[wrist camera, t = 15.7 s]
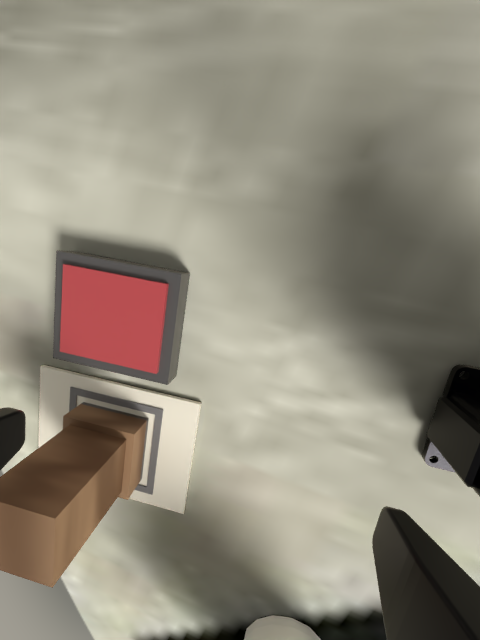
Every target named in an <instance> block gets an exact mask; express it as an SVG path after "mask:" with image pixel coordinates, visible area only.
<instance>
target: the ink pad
mask: <svg viewBox="0 0 480 640" xmlns="http://www.w3.org/2000/svg"><path fill="white" fill-rule="evenodd" d="M189 276H190V273H187V272H181V271H176V270H171V269H165V268H160V267H155V266H149V265H144V264H139V263H133V262H128V261H123V260H117V259H112V258H107V257H101V256H96V255H91V254H85V253H80V252H75V251H57V256H56V286H55V317H54V347H53V358H56V359H60V360H64V361H69V362H73V363H77V364H81V365H86V366H90V367H94V368H98V369H103V370H107V371H111V372H115V373H120V374H124V375H128V376H132V377H137V378H141V379H145V380H149V381H154V382H158V383H162V384H166V385H168V384H169V383H170V382H171V381H172V380H173V379H174V378H175V377H176V374H177V367H178V359H179V352H180V344H181V337H182V329H183V321H184V314H185V306H186V299H187V291H188V284H189Z"/></svg>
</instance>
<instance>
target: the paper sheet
mask: <svg viewBox="0 0 480 640" xmlns="http://www.w3.org/2000/svg"><path fill="white" fill-rule="evenodd" d="M83 402H86V403H90V404H94V405H98V406H102V407H106V408H110V409H114V410H118V411H122V412H126V413H130V414H134V415H138V416H142V417H146V418H149V421H148V430H147V439H146V447H145V456H144V465H143V474H142V479H141V481H140V482H139V484H138V485H137V487H136V488H135V490H134V491H133V493H132V494H131V496H130V497H129V499H132V500H136V501H139V502H143V503H146V504H150V505H153V506H157V507H160V508H164V509H167V510H171V511H174V512H178V513H181V514H183V513H184V511H185V505H186V499H187V492H188V486H189V479H190V473H191V466H192V460H193V454H194V447H195V441H196V434H197V428H198V421H199V415H200V409H201V402H197V401H193V400H189V399H185V398H181V397H176V396H172V395H168V394H164V393H160V392H156V391H151V390H147V389H143V388H139V387H135V386H130V385H126V384H122V383H118V382H114V381H110V380H105V379H101V378H97V377H93V376H89V375H84V374H80V373H76V372H72V371H68V370H64V369H59V368H55V367H51V366H47V365H42V366H40V400H39V444H38V448H39V447H41V446H42V445H43V444H45V443H46V442H47V441H49V440H50V439H51V438H53V437H54V436H55V435H57V434H58V433H59V432H61V431H62V430H63V416H64V415H65V414H67V413H68V412H70V411H71V410H73V409H74V408H76V407H77V406H78V405H80V404H81V403H83Z"/></svg>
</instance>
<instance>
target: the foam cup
mask: <svg viewBox="0 0 480 640" xmlns="http://www.w3.org/2000/svg"><path fill="white" fill-rule="evenodd" d="M244 640H321V639H320V638H319V637H318V636H317V635H316V634H315V633H314V631H313V630H312V629H311V628H310V627H309V626H307V625H305V624H303V623H301V622H299V621H297V620H295V619H293V618H290V617H283V616H275V615H272V616H268V617H264V618H260V619H257V620H256V621H254V622H253V623H252V624H251V625H250V626H249V627H248V628H247V629H246V633H245V638H244Z"/></svg>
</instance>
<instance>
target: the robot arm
mask: <svg viewBox="0 0 480 640" xmlns="http://www.w3.org/2000/svg"><path fill="white" fill-rule="evenodd" d="M463 371H465V375H464V376H462V377H459V375H460V373H461V372H463ZM427 436H428V438H427V441H426V444H425V447H424V450H423V453H422V457H423V459H424V461H425V462H426V464H427V465H429V466H431V467H435V468H439V469H443V470H447V471H452V472H456V473H457V474H458V476H459V477H460V478H461V479H462V481H463V482H464V483H465V484H466V485H467V486H468V487H471V488H473V489H474V490H475V491H476V493H477V494H478V495H479V496H480V368H476V367H471V366H467V365H457V366H455V367H454V368H453V369H452V371H451V373H450V376H449V379H448V382H447V384H446V387H445V390H444V393H443V396H442V397H441V398H440V399H439V400H438V403H437V406H436V409H435V412H434V415H433V418H432V420H431V423H430V426H429V429H428V432H427ZM24 441H25V414H24V412H23V411H21V410H17V409H13V408H2V409H0V470H1V469H2V468H3V467H4V466H5V465H6V464H7V463H8V462H9V461H10V459H11V458H12V457H13V456H14V455H15V454H16V453H17V452H18V451H19V450H20V449H21V447H22V446H23V444H24ZM431 456H435V457H434V458H433V459H429V458H430V457H431ZM372 544H373V553H374V559H375V566H376V573H377V579H378V586H379V592H380V599H381V606H382V612H383V619H384V625H385V630H386V636H387V640H480V586H479V585H478V584H477V583H476V582H475V581H474V580H473V579H472V578H471V577H470V576H469V575H468V574H467V573H466V572H465V571H464V570H463V569H462V568H461V567H460V566H459V565H458V564H457V563H456V562H455V561H454V560H453V559H452V558H451V557H450V556H449V555H448V554H447V553H446V552H445V551H444V550H443V549H442V548H441V547H440V546H439V545H438V544H437V543H436V542H435V541H434V540H433V539H432V538H431V537H430V536H429V535H428V534H427V533H426V532H425V531H424V530H423V529H422V528H421V527H420V526H419V525H418V524H417V523H416V522H415V521H414V520H413V519H412V518H411V517H410V516H409V515H408V514H407V513H405V512H404V511H402V510H399V509H395V508H391V507H384V508H383V509H382V511H381V513H380V516H379V519H378V522H377V525H376V528H375V531H374V534H373V541H372Z"/></svg>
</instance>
